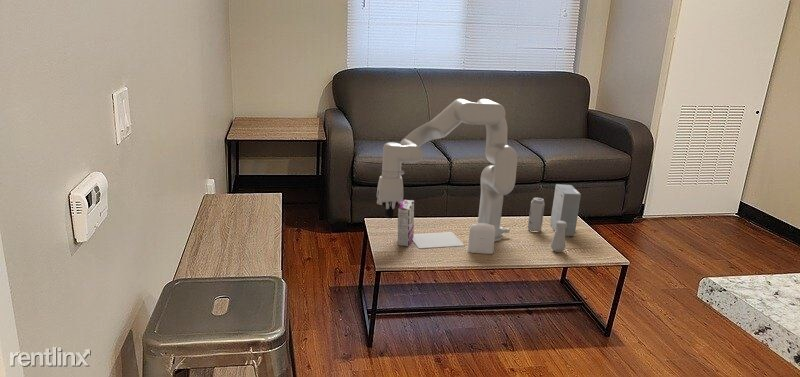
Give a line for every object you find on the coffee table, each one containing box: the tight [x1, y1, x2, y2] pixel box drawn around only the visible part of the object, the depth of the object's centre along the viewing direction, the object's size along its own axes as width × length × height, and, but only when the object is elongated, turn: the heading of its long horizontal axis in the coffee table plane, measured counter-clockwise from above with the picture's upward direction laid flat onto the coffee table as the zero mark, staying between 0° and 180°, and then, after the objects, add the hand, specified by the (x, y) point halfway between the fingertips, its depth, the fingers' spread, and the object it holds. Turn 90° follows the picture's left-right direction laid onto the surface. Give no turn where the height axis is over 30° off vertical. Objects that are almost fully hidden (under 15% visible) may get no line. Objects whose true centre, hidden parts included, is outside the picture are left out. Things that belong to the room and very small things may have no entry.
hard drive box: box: [549, 183, 582, 237], centre depth 256 cm, size 16×8×20 cm, turn 179°
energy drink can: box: [527, 196, 546, 232], centre depth 255 cm, size 6×6×15 cm
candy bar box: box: [397, 199, 415, 247], centre depth 233 cm, size 11×5×16 cm, turn 169°
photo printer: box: [467, 222, 495, 255], centre depth 228 cm, size 10×4×12 cm, turn 87°
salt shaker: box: [550, 221, 567, 253], centre depth 234 cm, size 6×6×13 cm
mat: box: [411, 231, 466, 250], centre depth 239 cm, size 20×15×1 cm
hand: (388, 217), depth 230 cm, fingers closed
